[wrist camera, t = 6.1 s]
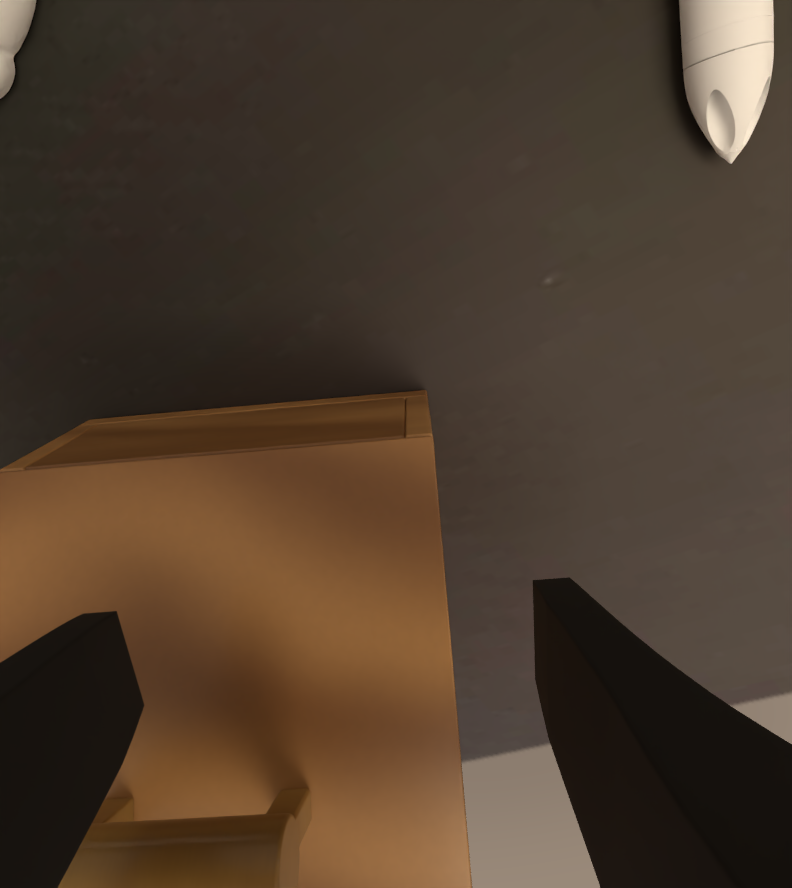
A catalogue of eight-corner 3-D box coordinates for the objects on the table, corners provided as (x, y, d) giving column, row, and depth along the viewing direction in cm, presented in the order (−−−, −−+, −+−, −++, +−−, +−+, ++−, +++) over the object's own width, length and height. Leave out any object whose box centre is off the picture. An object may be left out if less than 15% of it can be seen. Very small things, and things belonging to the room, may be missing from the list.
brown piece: (477, 960, 13) (498, 1143, 9) (-28, 980, 13) (-222, 1161, 9) (432, 439, 15) (432, 400, 11) (-4, 476, 15) (-154, 451, 11)
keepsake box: (448, 663, 23) (458, 765, 18) (160, 682, 23) (102, 786, 19) (426, 389, 19) (432, 433, 15) (89, 419, 20) (-4, 470, 15)
